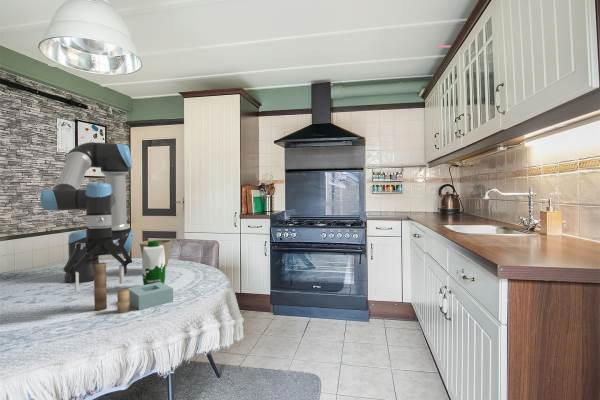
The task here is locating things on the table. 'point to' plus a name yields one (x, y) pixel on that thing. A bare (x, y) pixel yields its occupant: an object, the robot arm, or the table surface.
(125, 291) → the oak pin short
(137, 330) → the table surface
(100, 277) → the walnut pin long
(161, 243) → the plant pot
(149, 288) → the socket block
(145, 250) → the milk carton
